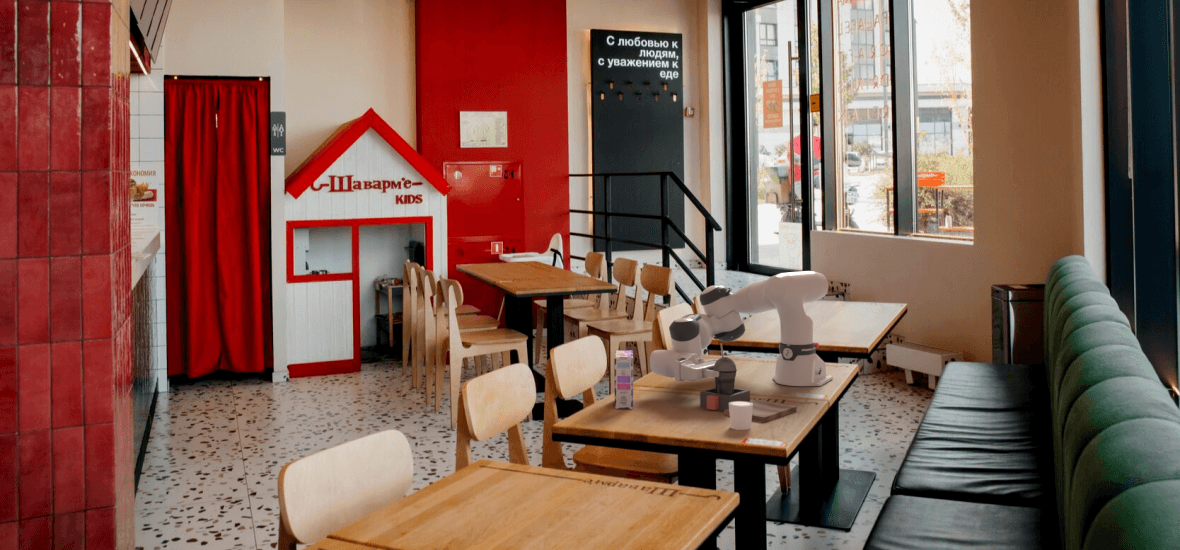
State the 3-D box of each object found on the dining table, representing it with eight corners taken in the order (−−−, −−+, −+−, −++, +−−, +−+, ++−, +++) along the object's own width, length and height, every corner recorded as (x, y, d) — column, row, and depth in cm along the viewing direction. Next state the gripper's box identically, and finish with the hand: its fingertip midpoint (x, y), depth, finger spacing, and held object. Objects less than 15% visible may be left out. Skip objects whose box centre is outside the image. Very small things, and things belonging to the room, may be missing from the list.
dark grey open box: (720, 401, 291) (720, 385, 290) (749, 406, 283) (749, 390, 283) (696, 408, 281) (696, 392, 281) (725, 413, 274) (725, 397, 273)
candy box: (633, 409, 281) (632, 357, 279) (614, 409, 281) (613, 357, 280) (633, 399, 295) (633, 349, 293) (615, 399, 295) (615, 349, 293)
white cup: (740, 431, 253) (741, 407, 252) (723, 427, 258) (723, 402, 258) (758, 427, 257) (758, 403, 256) (740, 423, 262) (740, 399, 262)
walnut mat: (757, 404, 285) (757, 399, 285) (796, 411, 276) (796, 406, 276) (724, 414, 272) (724, 410, 272) (764, 422, 263) (764, 417, 263)
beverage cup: (736, 409, 279) (736, 345, 277) (712, 409, 280) (712, 344, 278) (737, 404, 286) (737, 341, 284) (713, 403, 287) (713, 341, 286)
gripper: (710, 371, 299) (746, 377, 289) (672, 381, 284) (708, 387, 275) (710, 352, 298) (746, 357, 289) (672, 361, 283) (708, 366, 274)
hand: (727, 372), depth 282 cm, fingers closed on beverage cup, 7 cm apart
